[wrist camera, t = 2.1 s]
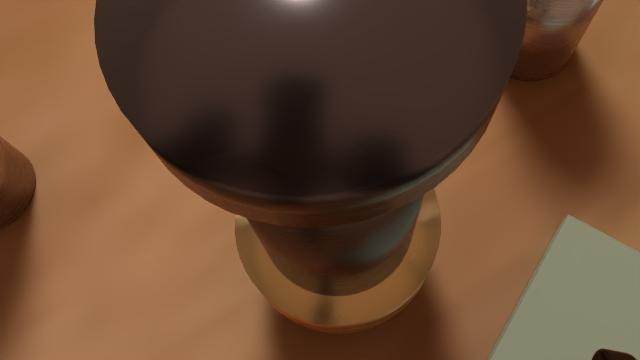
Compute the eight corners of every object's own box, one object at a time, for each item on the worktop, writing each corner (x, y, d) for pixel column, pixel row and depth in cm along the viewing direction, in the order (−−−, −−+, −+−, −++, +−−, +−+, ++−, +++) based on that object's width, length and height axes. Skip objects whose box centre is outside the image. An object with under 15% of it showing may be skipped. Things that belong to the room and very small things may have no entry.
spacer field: (801, 399, 17) (963, 394, 13) (-70, 223, 21) (-194, 169, 16) (781, 37, 21) (897, -67, 17) (55, -57, 25) (-15, -164, 20)
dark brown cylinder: (356, 379, 18) (344, 309, 6) (224, 269, 20) (-5, 32, 7) (459, 241, 20) (624, -50, 7) (328, 148, 21) (280, -226, 9)
